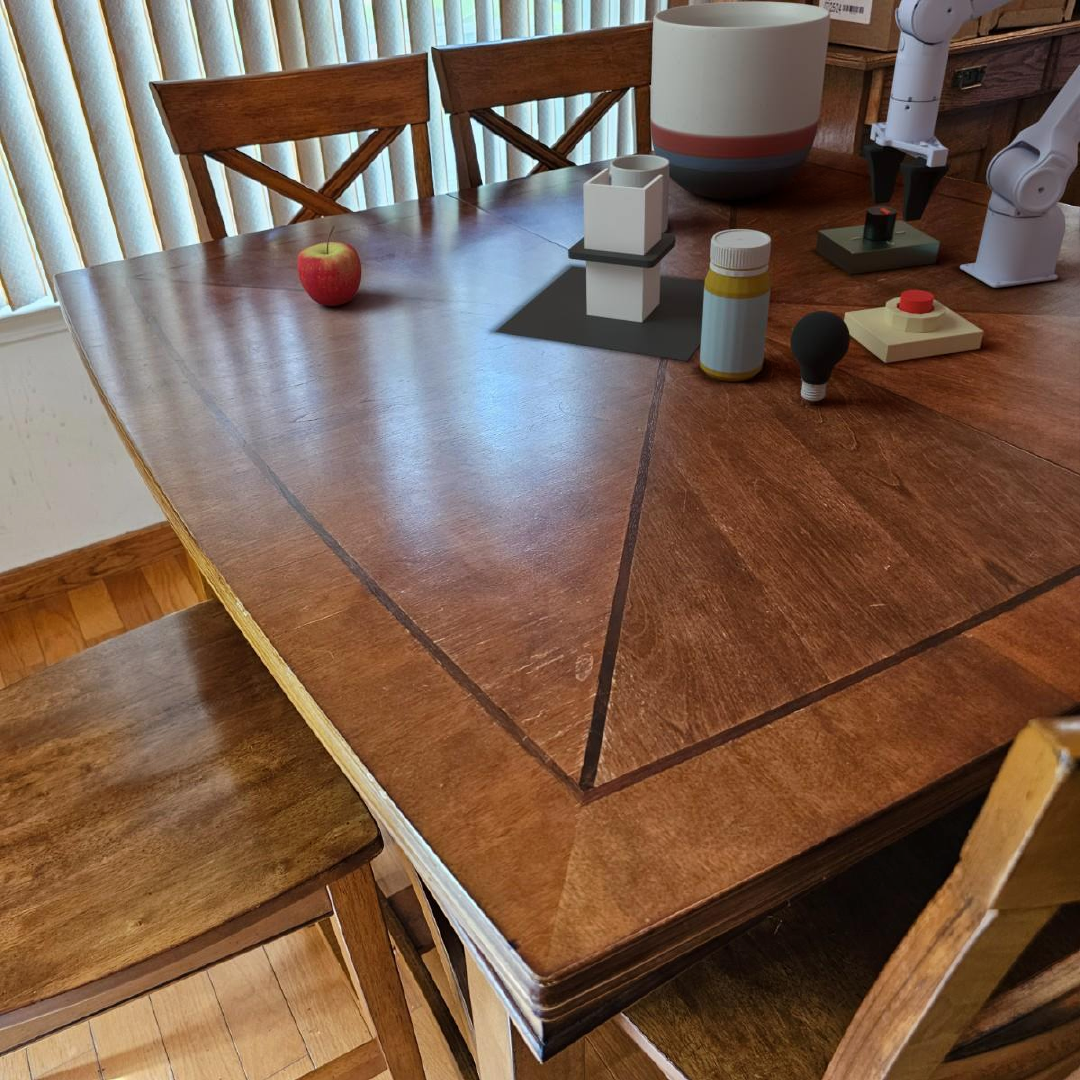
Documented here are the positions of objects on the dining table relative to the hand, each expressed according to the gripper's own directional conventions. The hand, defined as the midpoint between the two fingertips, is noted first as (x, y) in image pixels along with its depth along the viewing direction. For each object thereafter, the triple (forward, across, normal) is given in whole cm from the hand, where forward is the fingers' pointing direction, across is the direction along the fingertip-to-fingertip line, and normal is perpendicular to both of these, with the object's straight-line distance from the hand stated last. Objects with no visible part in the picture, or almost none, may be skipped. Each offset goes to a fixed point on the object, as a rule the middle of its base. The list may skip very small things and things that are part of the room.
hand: (896, 211), depth 126 cm
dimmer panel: (+9, -8, +3) cm, 13 cm away
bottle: (+10, +19, -29) cm, 36 cm away
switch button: (+6, +18, -6) cm, 20 cm away
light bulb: (+10, +29, -24) cm, 39 cm away
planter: (+9, -44, -4) cm, 46 cm away
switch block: (+9, +18, -6) cm, 21 cm away
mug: (+10, -32, -25) cm, 42 cm away
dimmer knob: (+6, -9, +3) cm, 11 cm away
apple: (+10, -16, -72) cm, 74 cm away
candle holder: (+10, -2, -36) cm, 37 cm away
